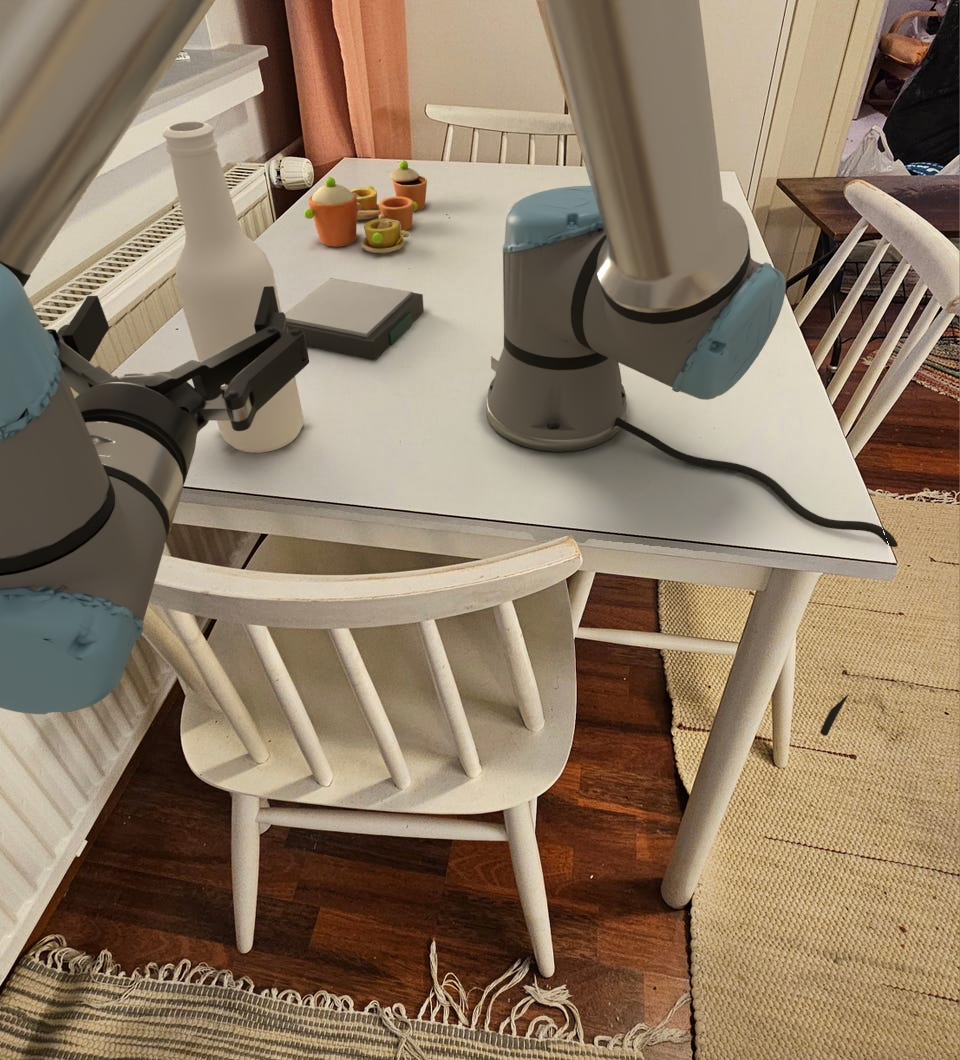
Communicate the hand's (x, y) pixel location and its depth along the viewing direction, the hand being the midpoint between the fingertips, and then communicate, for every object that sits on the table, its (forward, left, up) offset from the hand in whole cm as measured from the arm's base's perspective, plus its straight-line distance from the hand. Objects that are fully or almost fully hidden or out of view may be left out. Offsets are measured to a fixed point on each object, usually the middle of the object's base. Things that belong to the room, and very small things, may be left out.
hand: (186, 306), depth 60 cm
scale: (+24, -26, -20) cm, 41 cm away
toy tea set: (+52, -48, -20) cm, 73 cm away
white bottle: (+9, -6, -20) cm, 23 cm away
